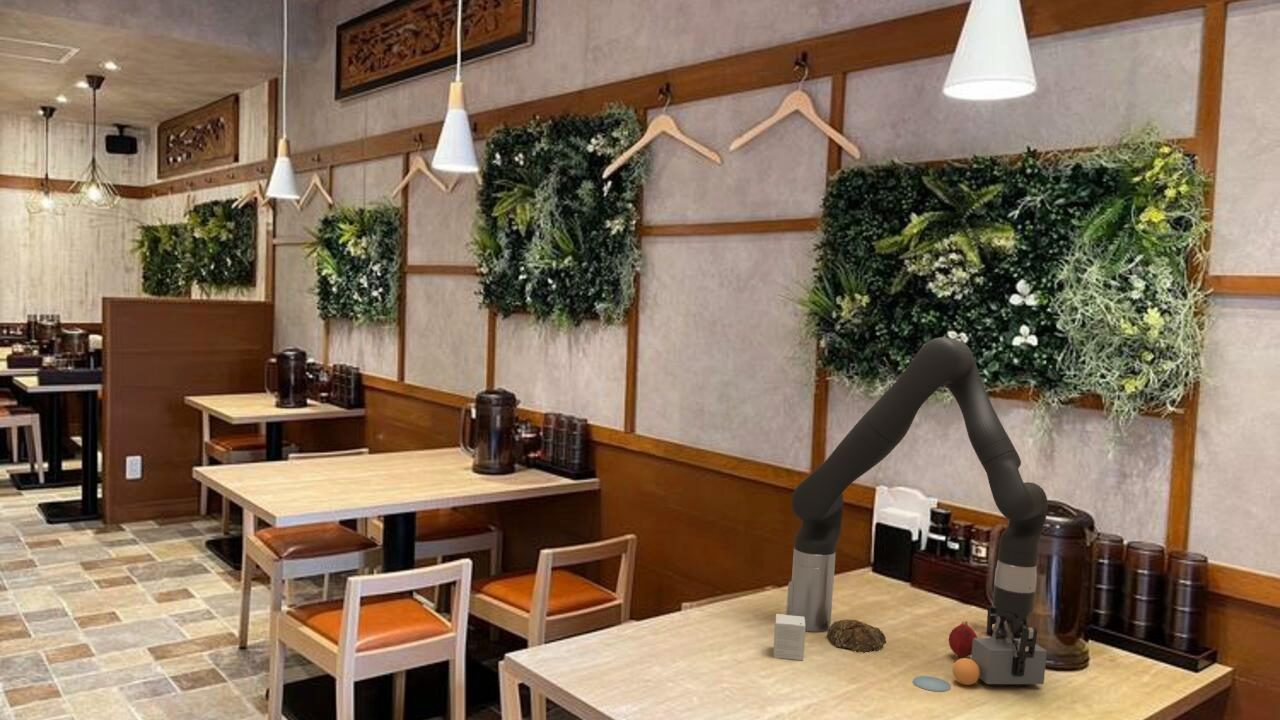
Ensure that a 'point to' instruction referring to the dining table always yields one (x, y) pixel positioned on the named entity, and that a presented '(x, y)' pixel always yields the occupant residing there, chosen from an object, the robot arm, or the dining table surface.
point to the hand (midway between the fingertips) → (1007, 668)
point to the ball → (966, 671)
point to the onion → (962, 640)
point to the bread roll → (856, 636)
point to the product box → (789, 637)
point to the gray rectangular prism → (1006, 662)
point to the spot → (932, 683)
